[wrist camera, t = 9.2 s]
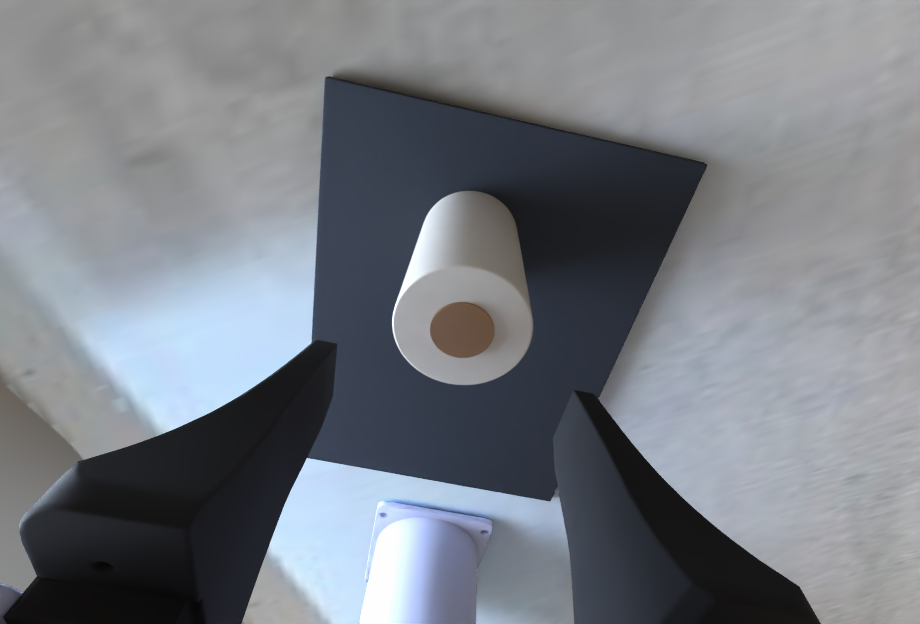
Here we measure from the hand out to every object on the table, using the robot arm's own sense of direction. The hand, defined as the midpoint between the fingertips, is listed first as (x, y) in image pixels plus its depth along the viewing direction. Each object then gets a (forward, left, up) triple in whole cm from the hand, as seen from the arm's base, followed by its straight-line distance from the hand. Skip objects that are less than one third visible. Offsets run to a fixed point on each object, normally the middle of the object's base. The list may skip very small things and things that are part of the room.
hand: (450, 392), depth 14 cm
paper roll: (-1, 0, -5) cm, 5 cm away
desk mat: (-4, -1, -10) cm, 11 cm away
